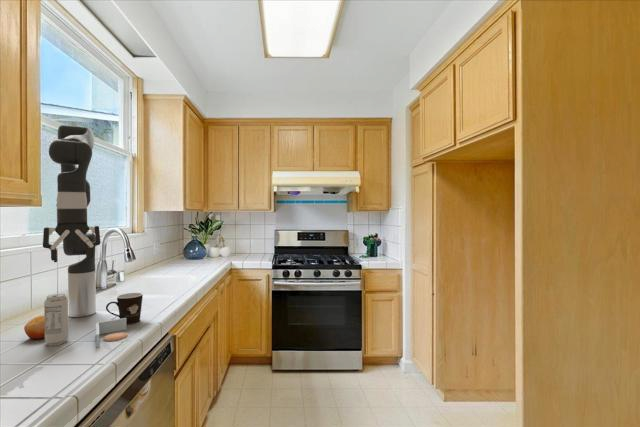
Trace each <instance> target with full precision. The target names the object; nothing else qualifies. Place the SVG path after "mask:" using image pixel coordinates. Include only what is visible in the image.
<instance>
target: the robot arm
mask: <svg viewBox="0 0 640 427" xmlns="http://www.w3.org/2000/svg"><path fill="white" fill-rule="evenodd" d="M94 145H95V136H94V132H93V130H92V129H91V128H89V127H87V126H80V125H79V126H78V125H68V124H67V125H66V124H61V125H59V126H58V128H57V139H55V140H53V141H52V142H51V143H50V145H49V148H48V155H49V157H50V159H51V160H52V161H53V162H54V163H56V164H59V165H60V173H58V175H57V177H56V179H57V180H56V181H57V196H56V226H55V227H48V226H46V227H44V228H43V233H42V247H43V248H44V249H49V250H50V260H51V261H53V262H54V263H57V262H58V249H57V247H59V245H60V244H61V243H62V249H63V253H64V255H65V256H85V258H83V259H82V260H80V261H78V262H76V263H72V264H70V265H68V267H67V282H68V283H67V288H68V289H67V290H68V291H67V294H68V295H67V296H68V297H67V299H68V318H69V317H70V318H81V317H88V316H91V315H94V314H96V313H97V312H96V311H97V310H96V309H97V298H96V297H97V296H96V295H97V293H96V287H97V286H96V247H97V246H101V234H100V226H99V225H95V226H89V225H88V206H89V205H90V202H91V186H90V183H89V181H88V180H87V172H88V168H89V167H90V163H91V160H92V156H93V149H94ZM77 165H78V166H77ZM53 232H55V233H56V234H57V235H58V236H59V237H58V238H57V239H56V240H55V242H53V244H51V243H50V236H51V235H53Z"/></svg>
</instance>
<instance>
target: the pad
mask: <svg viewBox="0 0 640 427" xmlns="http://www.w3.org/2000/svg"><path fill="white" fill-rule="evenodd" d="M128 335H129V334H128V333H127V332H120V331H119V332H112V333H109V334H107V335H105V336H103V337H102V339H103V341H105V342H115V341H120V340H123V339H126V338H127V337H129V336H128Z"/></svg>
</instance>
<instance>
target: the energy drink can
mask: <svg viewBox="0 0 640 427" xmlns="http://www.w3.org/2000/svg"><path fill="white" fill-rule="evenodd" d="M43 303H44V304H43V308H44V313H43V316H44V318H45V338H44V343H45V344H46V345H47V346H51V347H52V346H58V345H62V344H64V343H66V342H67V340H68V339H69V309H68V306H69V305H68V297H66V294H65V293H56V294H55V293H53V294H51V295H49V294H48V295H47V296H46V299H45V301H44V302H43Z"/></svg>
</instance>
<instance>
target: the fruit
mask: <svg viewBox="0 0 640 427" xmlns="http://www.w3.org/2000/svg"><path fill="white" fill-rule="evenodd" d="M23 330H24V333H25V334H26V336H27V337H28V338H29V339H31V340H41V339H45V318H44V315H38V316H36V317H33V318H32V319H30V320H29V321H28V322H26V324H25V325H24V327H23Z"/></svg>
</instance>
